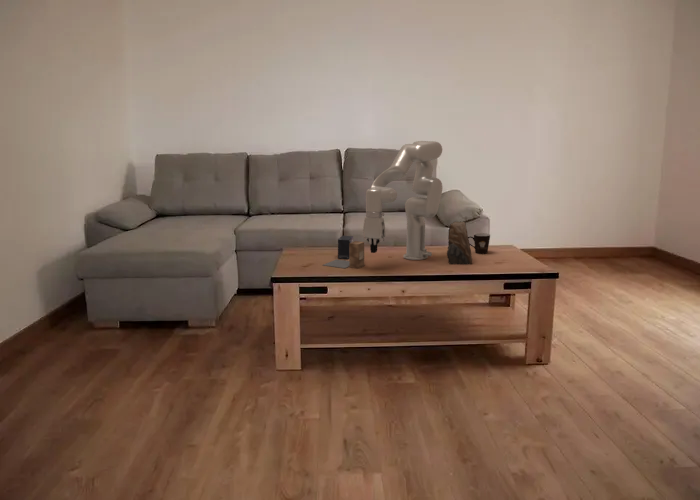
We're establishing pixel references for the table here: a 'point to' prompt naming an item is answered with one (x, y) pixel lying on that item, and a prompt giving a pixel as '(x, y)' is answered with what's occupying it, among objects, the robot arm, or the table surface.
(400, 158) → the robot arm
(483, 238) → the coffee mug
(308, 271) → the table surface
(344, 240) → the small box
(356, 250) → the walnut block
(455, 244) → the brown grey rock
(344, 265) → the mat
